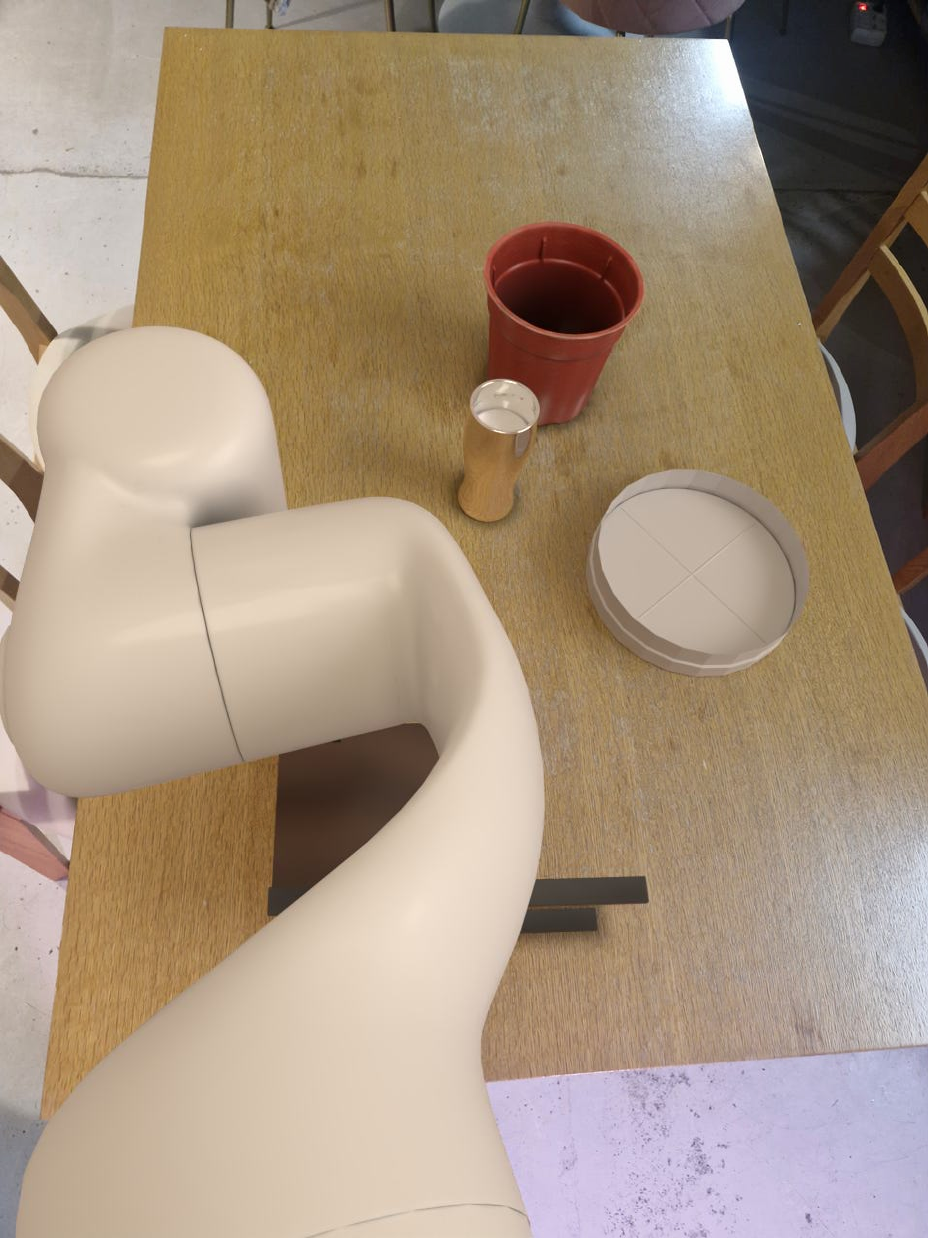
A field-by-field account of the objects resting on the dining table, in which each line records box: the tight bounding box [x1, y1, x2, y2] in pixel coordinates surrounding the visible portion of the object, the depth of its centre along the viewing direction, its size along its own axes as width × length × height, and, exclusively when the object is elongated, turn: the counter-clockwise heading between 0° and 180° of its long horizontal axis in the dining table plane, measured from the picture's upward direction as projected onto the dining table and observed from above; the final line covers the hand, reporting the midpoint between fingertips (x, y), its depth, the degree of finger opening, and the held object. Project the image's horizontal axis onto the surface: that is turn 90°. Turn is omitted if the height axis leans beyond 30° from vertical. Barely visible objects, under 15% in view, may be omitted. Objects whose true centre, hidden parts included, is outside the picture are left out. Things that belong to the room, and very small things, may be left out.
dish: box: [584, 468, 811, 678], centre depth 87 cm, size 22×22×5 cm
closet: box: [266, 722, 650, 935], centre depth 67 cm, size 13×26×16 cm, turn 93°
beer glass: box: [457, 379, 540, 523], centre depth 85 cm, size 7×7×15 cm
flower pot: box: [482, 221, 645, 427], centre depth 93 cm, size 16×16×16 cm
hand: (257, 720), depth 53 cm, fingers open, 9 cm apart
